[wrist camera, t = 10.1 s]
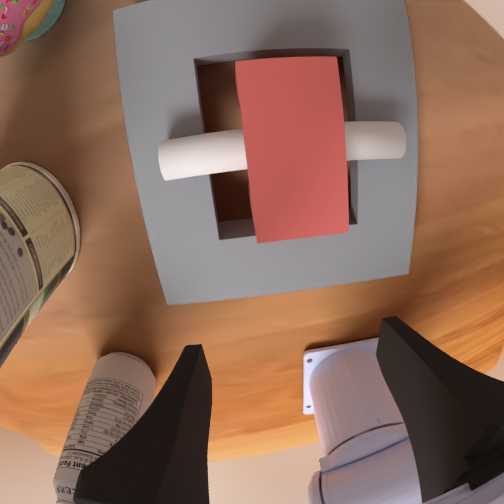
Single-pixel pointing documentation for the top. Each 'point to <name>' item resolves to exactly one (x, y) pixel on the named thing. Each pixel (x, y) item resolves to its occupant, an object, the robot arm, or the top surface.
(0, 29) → the cupcake
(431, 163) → the top surface
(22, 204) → the coffee can
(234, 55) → the grey frame with dowel
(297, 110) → the red arch block
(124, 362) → the energy drink can
